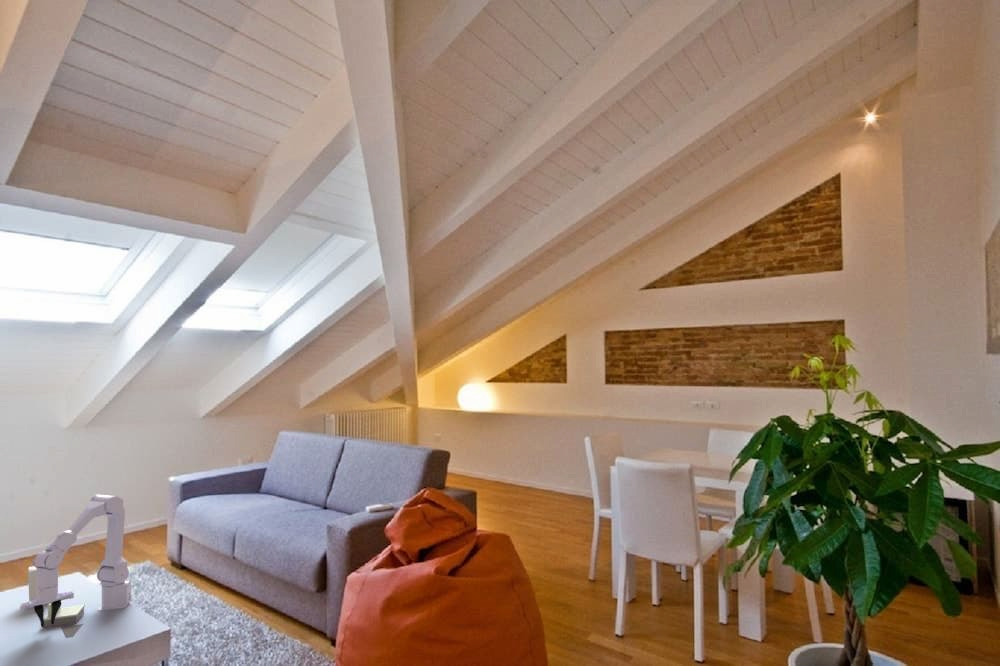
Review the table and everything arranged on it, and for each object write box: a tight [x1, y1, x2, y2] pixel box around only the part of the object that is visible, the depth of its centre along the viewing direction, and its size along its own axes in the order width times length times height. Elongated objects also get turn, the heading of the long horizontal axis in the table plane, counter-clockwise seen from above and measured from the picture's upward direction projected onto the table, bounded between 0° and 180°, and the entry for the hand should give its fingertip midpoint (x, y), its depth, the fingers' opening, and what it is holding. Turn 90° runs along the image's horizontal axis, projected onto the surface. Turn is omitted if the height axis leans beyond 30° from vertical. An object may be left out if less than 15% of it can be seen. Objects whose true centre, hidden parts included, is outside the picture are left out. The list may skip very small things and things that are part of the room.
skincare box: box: [27, 565, 37, 602], centre depth 223 cm, size 8×6×15 cm
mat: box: [60, 623, 84, 639], centre depth 198 cm, size 12×10×1 cm
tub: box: [42, 607, 85, 629], centre depth 208 cm, size 10×8×3 cm
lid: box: [44, 603, 86, 621], centre depth 208 cm, size 10×8×5 cm
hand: (47, 624), depth 197 cm, fingers closed
